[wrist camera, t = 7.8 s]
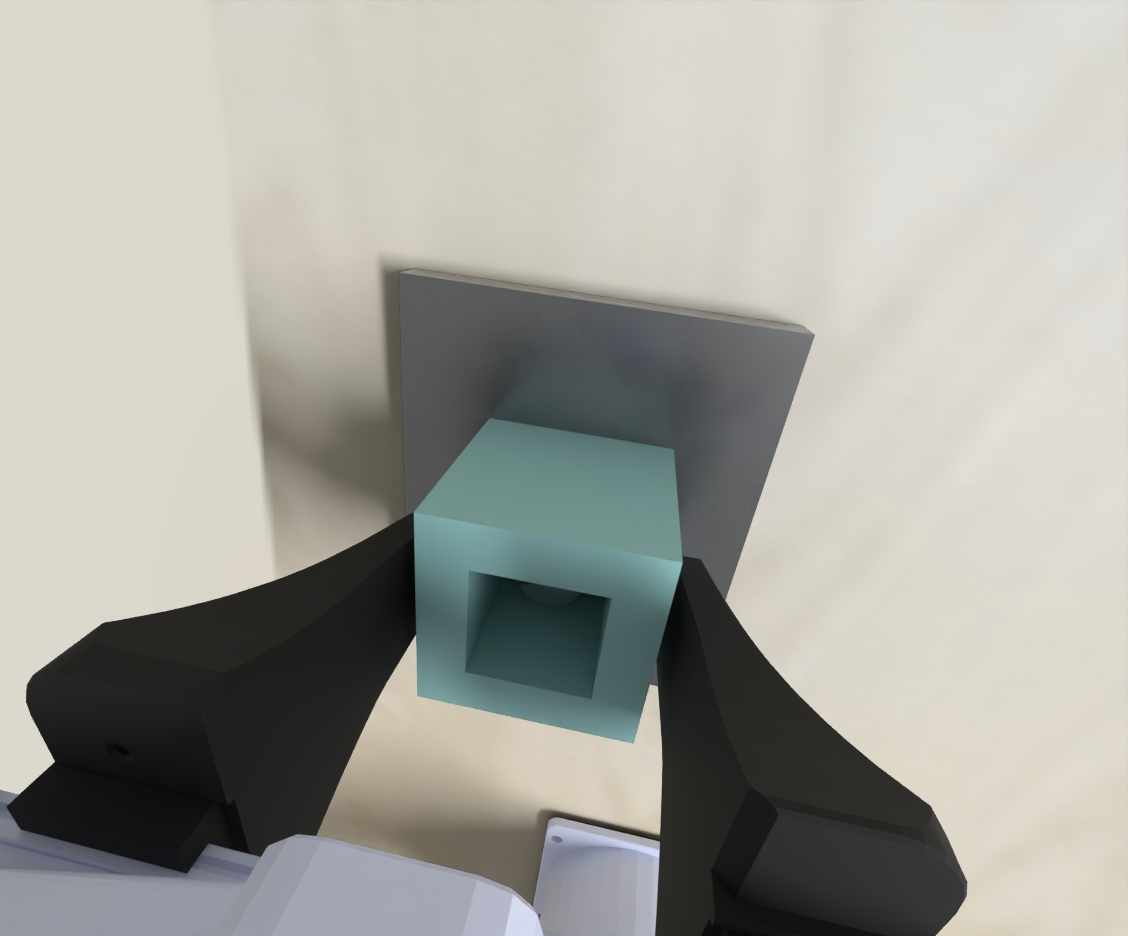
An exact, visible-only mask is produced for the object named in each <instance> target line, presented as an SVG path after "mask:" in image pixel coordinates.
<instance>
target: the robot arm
mask: <svg viewBox="0 0 1128 936" xmlns="http://www.w3.org/2000/svg"><path fill="white" fill-rule="evenodd" d="M682 560H683V564H682V567H681V571H680V575H679V578H678V582H677V586H676V589H675V593H674V597H673V600H672V604H671V608H670V611H669V615H668V619H667V622H666V626H665V630H664V633H663V637H662V641H661V644H660V648H659V652H658V655H657V659H656V662H657V678H658V693H659V707H660V722H661V736H662V762H663V766H662V800H661V827H660V841H656V840H651V839H647V838H643V837H639V836H635V835H630V834H626V833H622V832H618V831H614V830H609V829H605V828H601V827H597V826H593V825H588V824H584V823H580V822H576V821H572V820H567V819H563V818H557V817H556V818H552V819H550V820H549V822H548V826H547V831H546V837H545V842H544V848H543V853H542V859H541V864H540V870H539V875H538V881H537V886H536V892H535V897H534V903H533V906H531V905H530V904H529V903H528V902H527V901H525V900H524V899H523V898H522V897H521V896H520V895H518V894H517V893H516V892H515V891H514V890H512V889H511V888H509V887H507V886H504V885H502V884H499V883H497V882H494V881H492V880H489V879H487V878H484V877H482V876H479V875H475V874H472V873H468V872H464V871H460V870H456V869H452V868H448V867H444V866H440V865H436V864H432V863H428V862H424V861H420V860H416V859H412V858H408V857H404V856H400V855H396V854H392V853H388V852H384V851H380V850H376V849H372V848H368V847H364V846H360V845H356V844H352V843H348V842H344V841H340V840H336V839H332V838H328V837H321V836H316V835H317V833H318V830H319V828H320V826H321V823H322V821H323V819H324V816H325V814H326V812H327V809H328V807H329V805H330V802H331V800H332V798H333V795H334V793H335V791H336V788H337V786H338V784H339V781H340V779H341V777H342V774H343V772H344V770H345V768H346V766H347V763H348V761H349V759H350V757H351V755H352V752H353V750H354V748H355V746H356V743H357V741H358V739H359V737H360V735H361V733H362V731H363V728H364V726H365V724H366V722H367V720H368V718H369V716H370V714H371V712H372V710H373V707H374V705H375V703H376V701H377V699H378V697H379V696H380V694H381V692H382V690H383V688H384V686H385V685H386V683H387V681H388V680H389V678H390V676H391V675H392V673H393V671H394V670H395V668H396V666H397V665H398V663H399V661H400V660H401V658H402V657H403V655H404V653H405V652H406V650H407V648H408V647H409V645H410V643H411V642H412V640H413V639H414V637H415V635H416V598H415V549H414V512H413V513H411V514H409V515H407V516H406V517H404V518H402V519H400V520H399V521H397V522H395V523H394V524H392V525H390V526H388V527H387V528H385V529H383V530H381V531H379V532H378V533H376V534H374V535H372V536H371V537H369V538H367V539H365V540H363V541H362V542H360V543H358V544H356V545H354V546H352V547H350V548H348V549H346V550H344V551H342V552H340V553H338V554H336V555H334V556H332V557H330V558H328V559H326V560H324V561H322V562H319V563H317V564H315V565H313V566H310V567H308V568H306V569H303V570H301V571H298V572H296V573H293V574H291V575H288V576H286V577H283V578H280V579H278V580H275V581H272V582H269V583H266V584H263V585H260V586H257V587H254V588H251V589H248V590H245V591H242V592H239V593H236V594H232V595H229V596H225V597H222V598H219V599H214V600H211V601H207V602H203V603H199V604H195V605H191V606H187V607H183V608H179V609H174V610H170V611H165V612H160V613H155V614H149V615H144V616H139V617H133V618H129V619H123V620H118V621H112V622H105V623H103V624H101V625H100V626H99V627H97V628H96V629H94V630H93V631H92V632H90V633H89V634H88V635H86V636H85V637H84V638H82V639H81V640H80V641H78V642H77V643H76V644H74V645H73V646H72V647H70V648H69V649H67V650H66V651H65V652H63V653H62V654H61V655H59V656H58V657H57V658H55V659H54V660H53V661H51V662H50V663H49V664H47V665H46V666H45V667H43V668H42V669H41V670H39V671H38V672H37V673H35V674H34V675H33V676H32V677H31V679H30V681H29V682H28V684H27V690H26V703H27V706H28V708H29V711H30V714H31V716H32V718H33V720H34V722H35V724H36V726H37V728H38V730H39V732H40V734H41V735H42V737H43V739H44V741H45V743H46V745H47V747H48V749H49V751H50V753H51V754H52V756H53V758H54V760H55V762H54V763H53V764H52V765H51V766H50V767H49V768H48V769H47V770H46V771H44V772H43V773H42V774H41V775H40V776H39V777H38V778H37V779H36V780H35V781H34V782H33V783H31V784H30V785H29V786H28V787H27V788H26V789H25V790H24V791H23V792H22V793H21V794H19V795H18V794H14V793H10V792H6V791H2V790H0V936H936V935H937V934H938V932H939V931H940V930H941V929H942V928H943V927H944V926H945V925H946V924H947V923H948V922H949V921H950V920H951V919H952V917H953V916H954V915H955V914H956V913H957V911H958V910H959V908H960V906H961V905H962V903H963V902H964V900H965V898H966V895H967V880H966V878H965V876H964V874H963V872H962V870H961V868H960V865H959V863H958V861H957V858H956V856H955V854H954V852H953V849H952V847H951V845H950V842H949V840H948V838H947V836H946V834H945V832H944V830H943V828H942V826H941V824H940V823H939V821H938V819H937V817H936V815H935V813H934V811H933V810H932V808H931V806H930V805H928V804H927V803H926V802H924V801H923V800H922V799H920V798H919V797H918V796H916V795H915V794H914V793H912V792H911V791H910V790H908V789H907V788H906V787H904V786H903V785H902V784H900V783H899V782H898V781H896V780H895V779H894V778H892V777H891V776H890V775H888V774H887V773H886V772H884V771H883V770H882V769H880V768H879V767H878V766H877V765H875V764H874V763H873V762H872V761H870V760H869V759H868V758H867V757H866V756H864V755H863V754H862V753H861V752H860V751H859V750H857V749H856V748H855V747H854V746H853V745H851V744H850V743H849V742H848V741H847V740H845V739H844V738H843V737H842V736H841V735H840V734H839V733H838V732H837V731H835V730H834V729H833V728H832V727H831V726H830V725H829V724H828V723H827V722H826V721H824V720H823V719H822V718H821V717H820V716H819V715H818V714H817V713H816V712H815V711H814V710H813V709H812V708H811V707H810V706H809V705H808V704H807V703H806V702H805V701H804V700H803V699H802V698H801V697H800V696H799V695H798V694H797V693H796V692H795V691H794V690H793V689H792V688H791V687H790V685H789V684H788V683H787V682H786V681H785V680H784V679H783V678H782V676H781V675H780V674H779V673H778V672H777V671H776V670H775V668H774V667H773V666H772V665H771V664H770V663H769V661H768V660H767V659H766V658H765V657H764V655H763V654H762V653H761V652H760V650H759V649H758V648H757V646H756V645H755V644H754V642H753V641H752V640H751V638H750V637H749V636H748V634H747V633H746V631H745V630H744V628H743V627H742V626H741V624H740V623H739V621H738V619H737V618H736V616H735V615H734V613H733V612H732V610H731V609H730V607H729V606H728V604H727V603H726V601H725V599H724V598H723V596H722V594H721V593H720V591H719V589H718V588H717V586H716V584H715V583H714V581H713V579H712V577H711V576H710V574H709V572H708V570H707V569H706V567H705V565H704V563H703V562H702V560H701V559H697V558H692V557H687V556H682Z"/></svg>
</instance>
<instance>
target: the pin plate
mask: <svg viewBox="0 0 1128 936" xmlns="http://www.w3.org/2000/svg"><path fill="white" fill-rule="evenodd" d="M399 303H400V342H401V381H402V420H403V459H404V497H405V517H406V516H407V515H409V514H411V513H413V512H414V511H415V510H416V509H417V508H418V506H419V505H420V504H421V503H422V501H423V500H424V499H425V498H426V496H427V495H428V494H429V493H430V492H431V490H432V489H433V488H434V487H435V485H436V484H437V483H438V482H439V480H440V479H441V478H442V477H443V475H444V474H445V473H446V472H447V470H448V469H449V468H450V467H451V465H452V464H453V463H454V462H455V460H456V459H457V458H458V457H459V456H460V454H461V453H462V452H463V451H464V449H465V448H466V447H467V446H468V444H469V443H470V442H471V441H472V439H473V438H474V437H475V436H476V434H477V433H478V432H479V431H480V429H481V428H482V427H483V426H484V424H485V423H486V422H487V421H488V420H489V418H492V419H498V420H504V421H510V422H516V423H522V424H528V425H534V426H539V427H545V428H551V429H557V430H563V431H569V432H575V433H581V434H587V435H593V436H599V437H605V438H611V439H617V440H622V441H628V442H634V443H640V444H646V445H652V446H658V447H664V448H670V449H674V458H675V471H676V483H677V496H678V509H679V522H680V534H681V547H682V556H687V557H692V558H697V559H701V560H702V562H703V563H704V565H705V567H706V569H707V570H708V572H709V574H710V576H711V577H712V579H713V581H714V583H715V584H716V586H717V588H718V589H719V591H720V593H721V594H722V596H723V598H724V599H726V596H727V594H728V591H729V588H730V585H731V582H732V579H733V576H734V573H735V570H736V567H737V564H738V561H739V558H740V555H741V552H742V549H743V546H744V543H745V540H746V537H747V534H748V531H749V528H750V525H751V522H752V519H753V516H754V514H755V511H756V508H757V505H758V502H759V499H760V496H761V493H762V490H763V487H764V484H765V481H766V478H767V475H768V472H769V469H770V466H771V463H772V460H773V457H774V454H775V451H776V448H777V445H778V442H779V439H780V436H781V433H782V431H783V428H784V425H785V422H786V419H787V416H788V413H789V410H790V407H791V404H792V401H793V398H794V395H795V392H796V389H797V386H798V383H799V380H800V377H801V374H802V371H803V368H804V365H805V362H806V359H807V356H808V353H809V350H810V348H811V345H812V342H813V339H814V336H815V334H813V333H812V332H811V331H809V330H808V329H807V328H805V327H804V326H799V325H792V324H785V323H779V322H772V321H765V320H758V319H752V318H745V317H738V316H732V315H725V314H718V313H711V312H705V311H698V310H691V309H684V308H678V307H671V306H664V305H658V304H651V303H644V302H637V301H631V300H624V299H617V298H610V297H604V296H597V295H590V294H584V293H577V292H570V291H563V290H557V289H550V288H543V287H536V286H530V285H523V284H516V283H509V282H503V281H496V280H489V279H483V278H476V277H469V276H462V275H456V274H449V273H442V272H435V271H429V270H422V269H411V270H407V271H403V272H399ZM518 582H519V585H520V587H521V589H522V591H523V592H524V593H525V594H526V595H527V596H528V597H529V598H531V599H532V600H534V601H535V602H537V603H540V604H542V605H546V606H563V605H566V604H569V603H571V602H573V601H574V600H575V599H577V597H578V596H579V595H580V594H581V592H577V591H571V590H566V589H561V588H556V587H551V586H546V585H541V584H536V583H531V582H525V581H520V580H518ZM650 684H651V685H655V686H658V678H657V662H656V663H655V667H654V670H653V674H652V678H651V681H650Z"/></svg>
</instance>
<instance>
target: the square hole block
mask: <svg viewBox="0 0 1128 936" xmlns="http://www.w3.org/2000/svg"><path fill="white" fill-rule="evenodd" d="M414 549H415V598H416V646H417V694H418V696H420V697H424V698H429V699H433V700H438V701H442V702H447V703H451V704H456V705H460V706H465V707H470V708H474V709H479V710H483V711H488V712H492V713H497V714H501V715H506V716H510V717H515V718H520V719H524V720H529V721H533V722H538V723H542V724H547V725H551V726H556V727H560V728H565V729H570V730H574V731H579V732H583V733H588V734H592V735H597V736H601V737H606V738H611V739H615V740H620V741H624V742H629V743H633V744H634V740H635V736H636V733H637V729H638V725H639V722H640V718H641V714H642V711H643V707H644V703H645V700H646V696H647V692H648V689H649V685H650V681H651V678H652V674H653V670H654V667H655V663H656V659H657V655H658V652H659V648H660V644H661V641H662V637H663V633H664V630H665V626H666V622H667V619H668V615H669V611H670V608H671V604H672V600H673V597H674V593H675V589H676V586H677V582H678V578H679V575H680V571H681V567H682V564H683V560H682V547H681V534H680V522H679V509H678V496H677V483H676V471H675V458H674V449H670V448H664V447H658V446H652V445H646V444H640V443H634V442H628V441H622V440H617V439H611V438H605V437H599V436H593V435H587V434H581V433H575V432H569V431H563V430H557V429H551V428H545V427H539V426H534V425H528V424H522V423H516V422H510V421H504V420H498V419H492V418H489V420H488V421H487V422H486V423H485V424H484V426H483V427H482V428H481V429H480V431H479V432H478V433H477V434H476V436H475V437H474V438H473V439H472V441H471V442H470V443H469V444H468V446H467V447H466V448H465V449H464V451H463V452H462V453H461V454H460V456H459V457H458V458H457V459H456V460H455V462H454V463H453V464H452V465H451V467H450V468H449V469H448V470H447V472H446V473H445V474H444V475H443V477H442V478H441V479H440V480H439V482H438V483H437V484H436V485H435V487H434V488H433V489H432V490H431V492H430V493H429V494H428V495H427V496H426V498H425V499H424V500H423V501H422V503H421V504H420V505H419V506H418V508H417V509H416V510H415V511H414ZM518 580H520V581H525V582H531V583H536V584H541V585H546V586H551V587H556V588H561V589H566V590H571V591H577V592H581V594H580V595H579V596H578V597H577V599H575V600H574V601H573V602H571V603H569V604H566V605H563V606H546V605H542V604H540V603H537V602H535V601H534V600H532V599H531V598H529V597H528V596H527V595H526V594H525V593H524V592H523V591H522V589H521V587H520V585H519V582H518Z"/></svg>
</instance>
